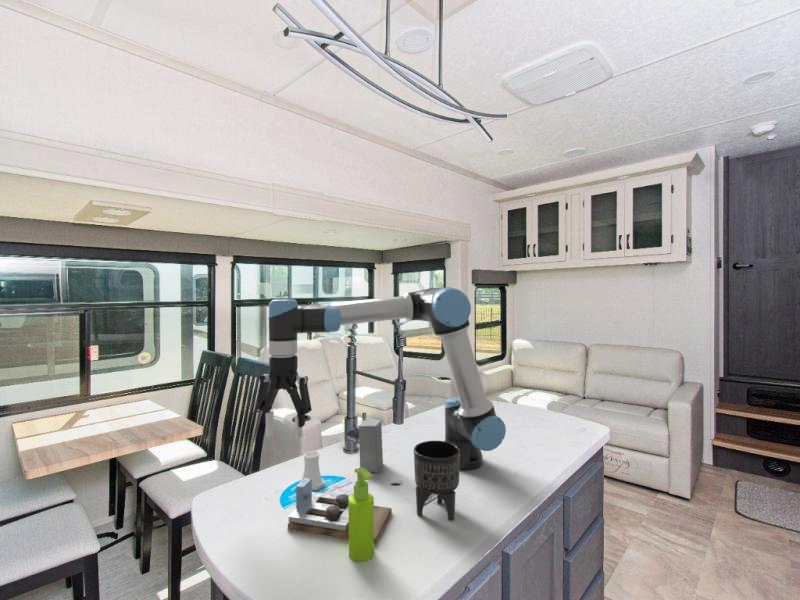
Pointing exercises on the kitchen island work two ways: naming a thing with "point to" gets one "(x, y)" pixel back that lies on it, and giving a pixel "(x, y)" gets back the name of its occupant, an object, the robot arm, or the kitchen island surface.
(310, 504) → the slider knob panel
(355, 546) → the soap dispenser
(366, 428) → the skincare box
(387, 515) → the board
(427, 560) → the kitchen island surface
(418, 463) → the planter
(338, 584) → the kitchen island surface
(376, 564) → the kitchen island surface
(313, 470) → the salt shaker
